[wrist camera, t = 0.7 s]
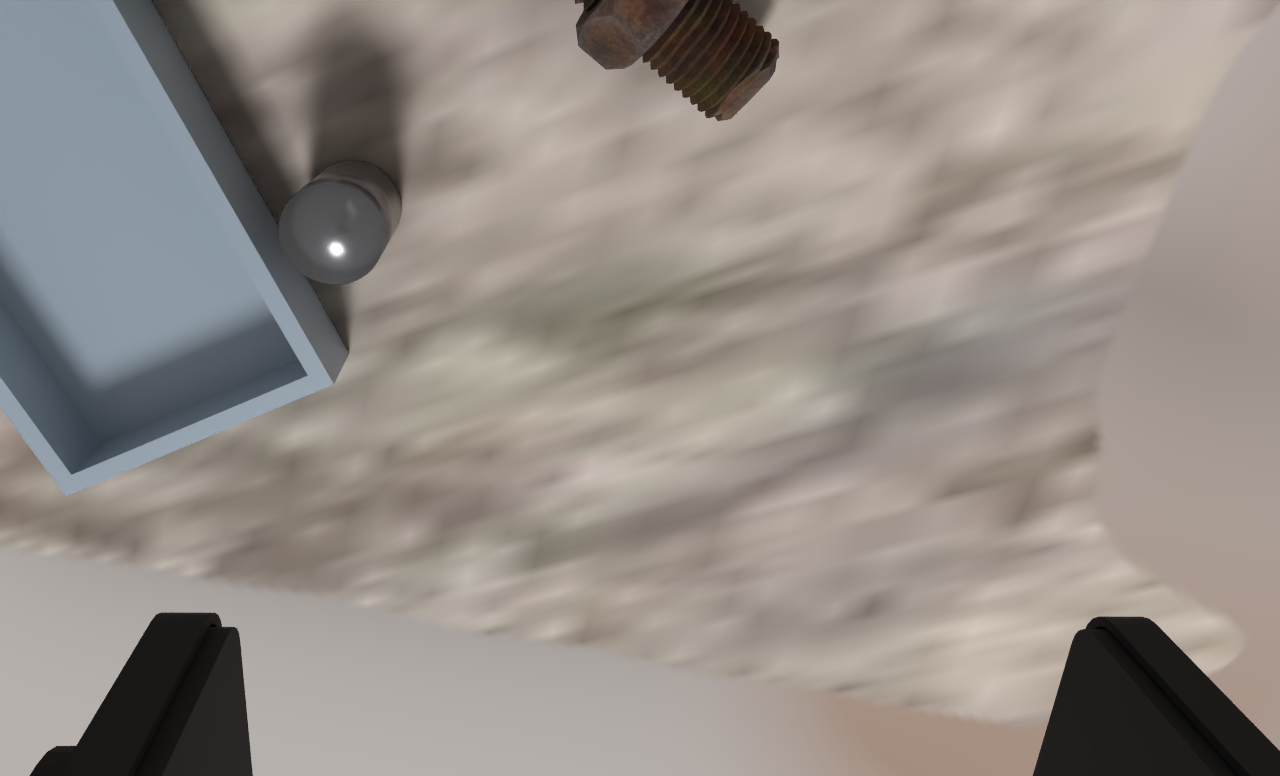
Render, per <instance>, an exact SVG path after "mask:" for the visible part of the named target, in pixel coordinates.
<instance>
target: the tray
mask: <svg viewBox="0 0 1280 776" xmlns="http://www.w3.org/2000/svg"><path fill="white" fill-rule="evenodd" d="M278 229H279V227H278V226H277V224H276V222H275V220H274V218H273V217H272V215H271V213H270V211H269V210H268V208H267V206H266V204H265V202H264V201H263V199H262V197H261V195H260V193H259V192H258V190H257V188H256V186H255V185H254V183H253V181H252V179H251V177H250V176H249V174H248V172H247V170H246V168H245V167H244V165H243V163H242V161H241V160H240V158H239V156H238V154H237V152H236V151H235V149H234V147H233V145H232V144H231V142H230V140H229V138H228V136H227V135H226V133H225V131H224V129H223V127H222V126H221V124H220V122H219V120H218V119H217V117H216V115H215V113H214V111H213V110H212V108H211V106H210V104H209V102H208V101H207V99H206V97H205V95H204V94H203V92H202V90H201V88H200V86H199V85H198V83H197V81H196V79H195V77H194V76H193V74H192V72H191V70H190V69H189V67H188V65H187V63H186V61H185V60H184V58H183V56H182V54H181V52H180V51H179V49H178V47H177V45H176V44H175V42H174V40H173V38H172V36H171V35H170V33H169V31H168V29H167V28H166V26H165V24H164V22H163V20H162V19H161V17H160V15H159V13H158V11H157V10H156V8H155V6H154V4H153V3H152V1H151V0H0V408H1V409H2V410H3V412H4V413H5V414H6V416H7V417H8V419H9V420H10V421H11V423H12V424H13V425H14V427H15V428H16V429H17V431H18V432H19V433H20V435H21V436H22V438H23V439H24V440H25V442H26V443H27V444H28V446H29V447H30V448H31V450H32V451H33V452H34V454H35V455H36V457H37V458H38V459H39V461H40V462H41V463H42V465H43V466H44V467H45V469H46V470H47V471H48V473H49V474H50V475H51V477H52V478H53V480H54V481H55V482H56V484H57V485H58V486H59V488H60V489H61V490H62V492H63V493H64V494H65V496H68V495H71V494H73V493H75V492H78V491H80V490H82V489H85V488H87V487H90V486H92V485H94V484H97V483H99V482H102V481H104V480H106V479H109V478H111V477H113V476H116V475H118V474H121V473H123V472H125V471H128V470H130V469H133V468H135V467H137V466H140V465H142V464H144V463H147V462H149V461H152V460H154V459H156V458H159V457H161V456H164V455H166V454H168V453H171V452H173V451H175V450H178V449H180V448H183V447H185V446H187V445H190V444H192V443H195V442H197V441H199V440H202V439H204V438H207V437H209V436H211V435H214V434H216V433H218V432H221V431H223V430H226V429H228V428H230V427H233V426H235V425H238V424H240V423H242V422H245V421H247V420H249V419H252V418H254V417H257V416H259V415H261V414H264V413H266V412H269V411H271V410H273V409H276V408H278V407H280V406H283V405H285V404H288V403H290V402H292V401H295V400H297V399H300V398H302V397H304V396H307V395H309V394H312V393H314V392H316V391H319V390H321V389H323V388H326V387H328V386H331V385H333V384H334V383H335V381H336V379H337V377H338V375H339V373H340V371H341V369H342V367H343V365H344V363H345V361H346V359H347V357H348V355H349V352H348V351H347V349H346V347H345V345H344V343H343V342H342V340H341V338H340V336H339V334H338V333H337V331H336V329H335V327H334V326H333V324H332V322H331V320H330V318H329V317H328V315H327V313H326V311H325V309H324V308H323V306H322V304H321V302H320V301H319V299H318V297H317V295H316V293H315V292H314V290H313V288H312V286H311V284H310V283H309V281H308V279H307V277H306V276H305V275H303V274H302V273H301V272H299V271H298V270H297V269H296V268H295V267H294V266H293V265H292V264H291V263H290V261H289V260H288V259H287V257H286V255H285V254H284V251H283V249H282V247H281V244H280V239H279V230H278Z"/></svg>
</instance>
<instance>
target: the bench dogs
mask: <svg viewBox="0 0 1280 776" xmlns="http://www.w3.org/2000/svg"><path fill="white" fill-rule="evenodd" d="M401 211H402V205H401V199H400V195H399V192H398V190H397V188H396V186H395V184H394V183H393V181H392V180H391V179H390V177H389V176H388V175H387V174H386V173H384V172H383V171H382V170H381V169H379V168H377V167H376V166H374V165H372V164H369V163H366V162H363V161H356V160H348V161H342V162H338V163H335V164H333V165H331V166H329V167H328V168H326V169H325V170H324V171H323V172H321V173H320V174H319V175H318V176H317V177H315V178H314V179H313V180H312V181H311V182H310V183H308V184H307V185H306V186H305V187H304V188H302V189H301V190H300V191H299V192H298V193H297V194H295V195H294V196H293V197H292V198H291V199H290V200H289V201H288V203H287V204H286V206H285V207H284V209H283V211H282V214H281V216H280V221H279V229H278V230H279V239H280V244H281V247H282V249H283V251H284V254H285V255H286V257H287V259H288V260H289V261H290V263H291V264H292V265H293V266H294V267H295V268H296V269H297V270H298V271H299V272H301V273H302V274H303V275H305V276H307V277H308V278H310V279H312V280H315V281H317V282H321V283H325V284H333V285H339V284H346V283H351V282H353V281H356V280H358V279H360V278H362V277H363V276H365V275H366V274H368V273H369V272H370V271H371V270H372V269H373V267H374V266H375V265H376V263H377V262H378V260H379V258H380V256H381V255H382V253H383V251H384V249H385V248H386V246H387V244H388V242H389V241H390V239H391V237H392V235H393V234H394V232H395V230H396V228H397V226H398V224H399V221H400V218H401Z"/></svg>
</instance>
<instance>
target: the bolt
mask: <svg viewBox="0 0 1280 776" xmlns="http://www.w3.org/2000/svg"><path fill="white" fill-rule="evenodd" d="M582 2H584V11H583V13H582V15H581V16H580V18H579V20H578V22H577V24H576V30H577V38H578V46H579V47H580V48H581V49H582V50H584V51H585V52H586V53H587V54H588V55H590V56H591V57H592V58H593V59H594V60H595V61H597V62H598V63H599V64H600V65H601V66H603V67H604V68H605V69H624V68H626V67H628V66H630V65H632V64H633V63H634V62H635V61H637V60H638V59H639V58H640V57H641V56H642V55H643V63H645V62H649V61H651V70H654V69H658V75H659V77H663V76H666V83H669V84H671V83H674V90H677V91H679V90H682V95H683V97H685V98H687V97H690V102H691V104H692V105H694V104H698V111H701V112H702V111H705V116H706V118H711V117H715V118H716V119H717V121H722V120H727V119H731V118H732V117H733V116H734V115H735V114H736V113H737V112H738V111H739V110H740V109H741V108H742V107H743V106H744V105H745V104H746V103H747V102H748V101H749V100H750V99H751V98H752V97H753V96H754V95H755V94H756V93H757V92H758V91H759V90H760V89H761V88H762V87H763V86H764V85H765V84H766V83H767V82H768V81H769V80H770V78H771V77H772V75H773V73H774V72H775V67H776V60H777V59H778V58H779V41H778V40H777V39H771V33H770V32H764V28H763V26H756V20H755V19H753V18H748V13H747V11H740V5H739V4H731V3H732V0H575V4H577V3H582Z"/></svg>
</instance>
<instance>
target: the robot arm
mask: <svg viewBox="0 0 1280 776" xmlns="http://www.w3.org/2000/svg"><path fill="white" fill-rule="evenodd" d="M246 711H247V710H246V699H245V689H244V678H243V667H242V657H241V646H240V637H239V633H238V630H237V628H235V627H222V624H221V620H220V618H219V616H218V615H217V614H216V613H159V614H157V615H156V616H155V617H154V618H153V620H152V621H151V622H150V624H149V626H148V628H147V629H146V631H145V633H144V634H143V636H142V638H141V639H140V641H139V643H138V644H137V646H136V647H135V649H134V651H133V653H132V654H131V656H130V658H129V659H128V661H127V662H126V664H125V666H124V667H123V669H122V671H121V672H120V674H119V676H118V678H117V679H116V681H115V683H114V684H113V686H112V688H111V689H110V691H109V692H108V694H107V696H106V698H105V699H104V701H103V703H102V704H101V706H100V708H99V709H98V711H97V713H96V714H95V716H94V717H93V719H92V721H91V723H90V724H89V726H88V728H87V729H86V731H85V733H84V734H83V736H82V738H81V739H80V741H79V743H78V744H77V746H56V747H55V748H53V749H51V750H50V751H48V752H47V753H46V754H45V755H44V756H43V758H42V759H41V760H40V761H39V763H38V764H37V765H36V767H35V768H34V770H33V772H32V773H31V775H30V776H253V774H252V764H251V753H250V742H249V732H248V721H247V712H246ZM1033 776H1280V751H1279V750H1278V749H1277V748H1276V747H1275V746H1274V745H1273V744H1272V743H1271V742H1270V740H1269V739H1267V737H1266V736H1265V735H1264V734H1263V733H1262V732H1261V731H1260V730H1259V729H1258V728H1257V727H1256V726H1255V725H1254V724H1253V723H1252V722H1251V721H1250V720H1249V719H1248V718H1247V717H1246V716H1245V715H1244V714H1243V713H1242V712H1241V711H1240V710H1239V709H1238V708H1237V707H1236V706H1235V705H1234V704H1233V703H1232V701H1231V700H1230V699H1229V698H1228V697H1227V696H1226V695H1224V693H1223V692H1222V691H1221V690H1220V689H1219V688H1218V687H1217V686H1216V685H1215V684H1214V683H1213V682H1212V681H1211V680H1210V679H1209V678H1208V677H1207V676H1206V675H1205V674H1204V673H1203V672H1202V671H1201V670H1200V669H1199V668H1198V667H1197V666H1196V665H1195V664H1194V662H1193V661H1192V660H1191V659H1190V658H1189V657H1188V656H1187V655H1186V654H1185V653H1184V652H1183V651H1182V650H1181V649H1180V648H1179V647H1178V646H1177V645H1176V644H1175V643H1174V642H1173V641H1172V640H1171V639H1170V638H1169V637H1168V636H1167V635H1166V634H1165V633H1164V632H1163V631H1162V630H1161V629H1160V628H1159V627H1158V626H1157V624H1155V623H1154V622H1153V621H1151V620H1150V619H1148V618H1144V617H1097V618H1093V619H1092V620H1091V621H1090V622H1089V623H1088V625H1087V627H1086V629H1083V630H1080V631H1078V632H1077V633H1076V634H1075V636H1074V639H1073V641H1072V644H1071V648H1070V651H1069V655H1068V658H1067V661H1066V665H1065V668H1064V672H1063V675H1062V678H1061V682H1060V685H1059V689H1058V692H1057V695H1056V699H1055V702H1054V706H1053V709H1052V712H1051V716H1050V719H1049V723H1048V726H1047V729H1046V733H1045V736H1044V739H1043V743H1042V746H1041V750H1040V753H1039V757H1038V760H1037V763H1036V767H1035V770H1034V773H1033Z"/></svg>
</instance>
